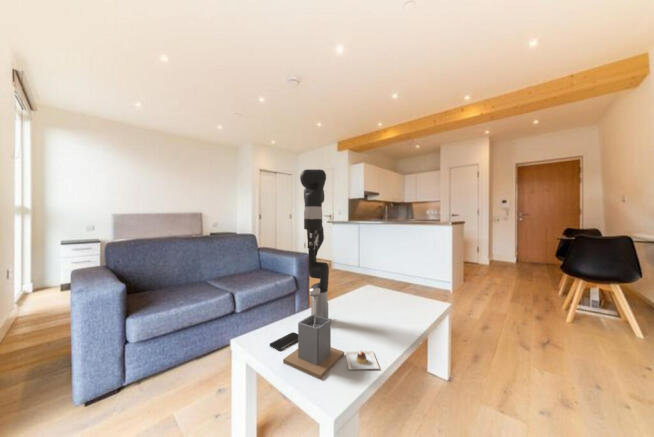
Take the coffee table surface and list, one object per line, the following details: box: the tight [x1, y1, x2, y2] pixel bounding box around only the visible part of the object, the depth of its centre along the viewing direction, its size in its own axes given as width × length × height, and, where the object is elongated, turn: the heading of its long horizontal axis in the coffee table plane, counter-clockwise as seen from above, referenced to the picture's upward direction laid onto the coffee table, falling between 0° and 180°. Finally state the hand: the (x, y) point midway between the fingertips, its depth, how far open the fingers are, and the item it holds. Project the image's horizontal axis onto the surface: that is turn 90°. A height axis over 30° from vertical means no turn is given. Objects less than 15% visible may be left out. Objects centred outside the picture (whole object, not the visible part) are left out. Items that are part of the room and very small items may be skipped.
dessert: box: [344, 350, 381, 371], centre depth 96 cm, size 12×12×5 cm
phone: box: [269, 332, 298, 352], centre depth 111 cm, size 8×1×15 cm
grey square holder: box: [282, 315, 345, 380], centre depth 98 cm, size 18×18×16 cm
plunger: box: [309, 286, 321, 328], centre depth 98 cm, size 8×8×17 cm
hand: (313, 257), depth 98 cm, fingers open, 8 cm apart
